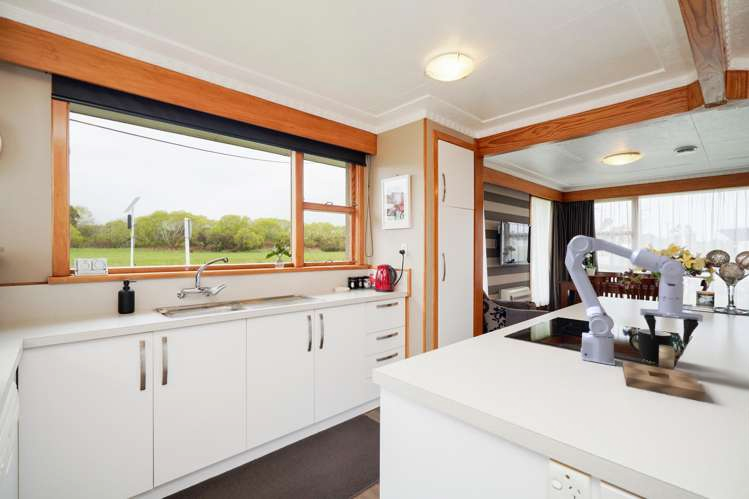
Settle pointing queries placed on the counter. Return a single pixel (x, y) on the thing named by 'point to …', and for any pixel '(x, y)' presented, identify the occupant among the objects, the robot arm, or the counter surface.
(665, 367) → the peg
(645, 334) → the mug
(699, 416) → the counter surface
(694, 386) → the board
